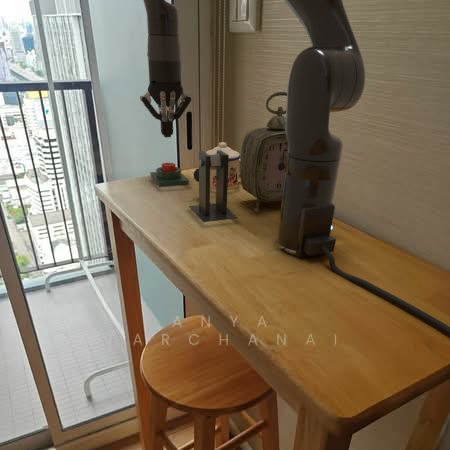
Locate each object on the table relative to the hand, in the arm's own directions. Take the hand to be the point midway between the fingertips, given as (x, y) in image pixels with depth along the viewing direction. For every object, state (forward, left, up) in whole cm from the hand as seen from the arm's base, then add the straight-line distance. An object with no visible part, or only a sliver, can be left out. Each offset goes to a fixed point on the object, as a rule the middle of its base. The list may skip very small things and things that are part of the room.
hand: (167, 136), depth 105 cm
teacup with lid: (-7, -14, -12) cm, 20 cm away
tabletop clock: (-25, -18, -12) cm, 33 cm away
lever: (-23, -3, -4) cm, 23 cm away
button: (0, 0, -9) cm, 9 cm away
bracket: (-26, -3, -12) cm, 29 cm away
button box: (0, 0, -12) cm, 12 cm away
